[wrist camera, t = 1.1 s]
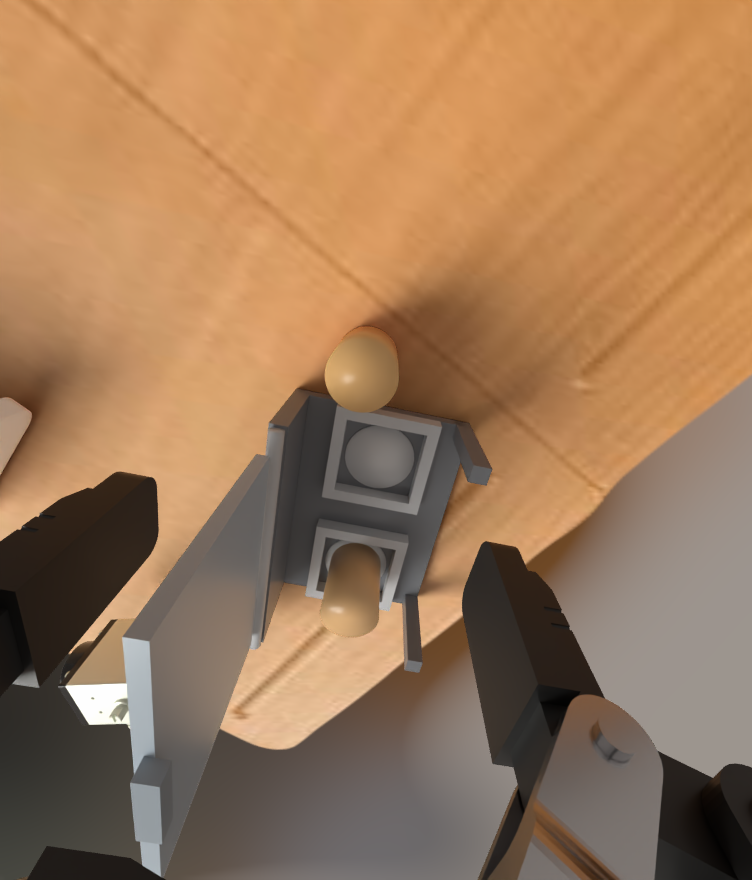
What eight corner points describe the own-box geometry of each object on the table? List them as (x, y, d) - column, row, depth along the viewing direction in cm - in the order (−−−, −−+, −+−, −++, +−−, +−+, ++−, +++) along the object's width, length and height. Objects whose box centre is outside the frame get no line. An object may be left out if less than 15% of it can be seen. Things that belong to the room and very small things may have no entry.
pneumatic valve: (128, 581, 40) (27, 701, 29) (240, 575, 39) (180, 696, 28) (146, 622, 42) (59, 747, 31) (253, 616, 41) (202, 744, 30)
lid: (280, 458, 23) (256, 454, 23) (154, 670, 11) (103, 661, 11) (259, 644, 30) (240, 641, 30) (165, 910, 17) (133, 906, 17)
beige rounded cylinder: (342, 320, 29) (330, 332, 23) (403, 333, 29) (406, 348, 23) (332, 380, 31) (319, 404, 25) (390, 392, 31) (390, 419, 25)
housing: (296, 388, 31) (264, 428, 23) (469, 423, 31) (494, 473, 24) (274, 572, 38) (244, 649, 31) (413, 597, 39) (419, 679, 31)
